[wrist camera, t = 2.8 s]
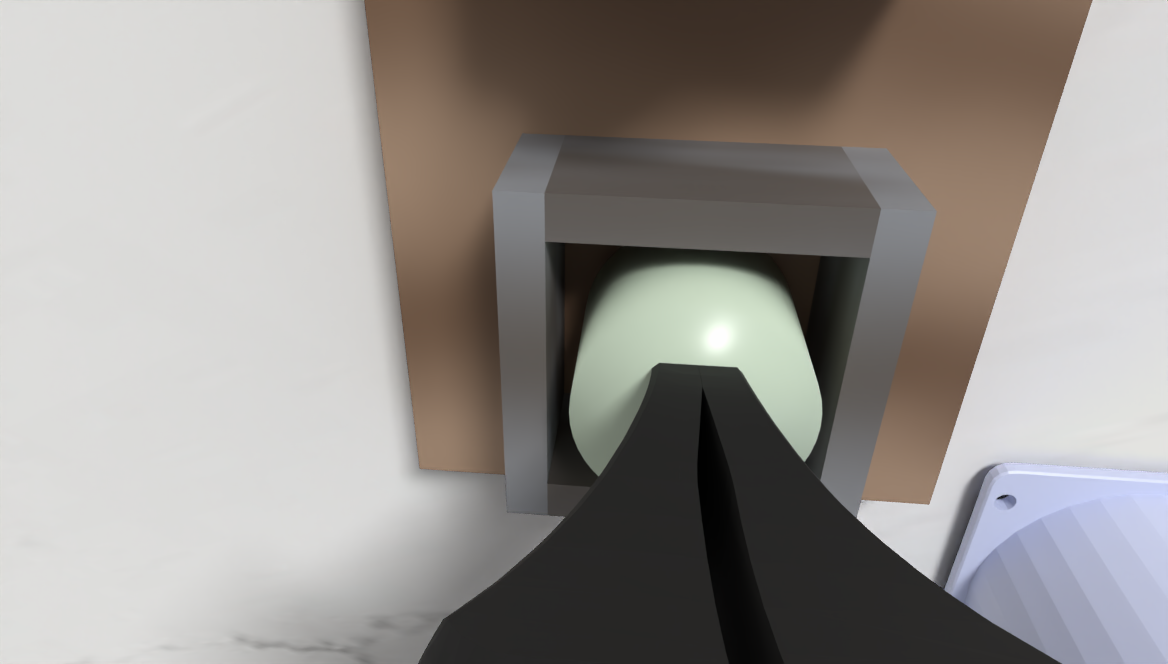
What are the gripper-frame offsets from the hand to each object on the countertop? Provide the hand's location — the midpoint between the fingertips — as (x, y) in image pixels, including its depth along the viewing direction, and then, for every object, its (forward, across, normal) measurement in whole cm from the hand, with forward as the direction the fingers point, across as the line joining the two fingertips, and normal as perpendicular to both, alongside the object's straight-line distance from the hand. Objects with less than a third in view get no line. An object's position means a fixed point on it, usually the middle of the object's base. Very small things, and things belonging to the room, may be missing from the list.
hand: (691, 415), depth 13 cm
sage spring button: (+3, 0, 0) cm, 3 cm away
